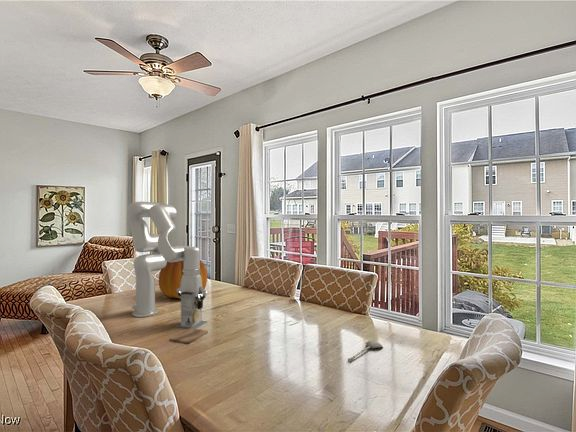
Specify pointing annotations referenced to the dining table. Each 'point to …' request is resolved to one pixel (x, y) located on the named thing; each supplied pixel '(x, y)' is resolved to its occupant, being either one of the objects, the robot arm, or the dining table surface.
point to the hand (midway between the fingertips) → (191, 307)
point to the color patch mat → (194, 326)
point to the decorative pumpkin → (176, 278)
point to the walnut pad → (188, 335)
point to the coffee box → (190, 310)
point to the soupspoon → (369, 345)
